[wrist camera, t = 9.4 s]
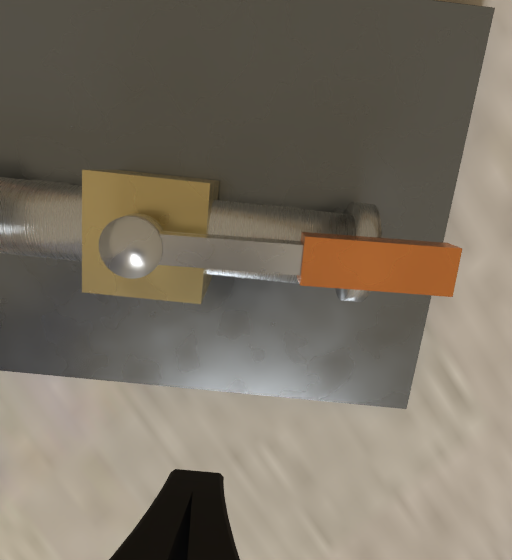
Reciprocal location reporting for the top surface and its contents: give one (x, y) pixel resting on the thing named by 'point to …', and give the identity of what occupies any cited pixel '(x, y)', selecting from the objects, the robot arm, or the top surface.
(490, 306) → the top surface
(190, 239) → the lever
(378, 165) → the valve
